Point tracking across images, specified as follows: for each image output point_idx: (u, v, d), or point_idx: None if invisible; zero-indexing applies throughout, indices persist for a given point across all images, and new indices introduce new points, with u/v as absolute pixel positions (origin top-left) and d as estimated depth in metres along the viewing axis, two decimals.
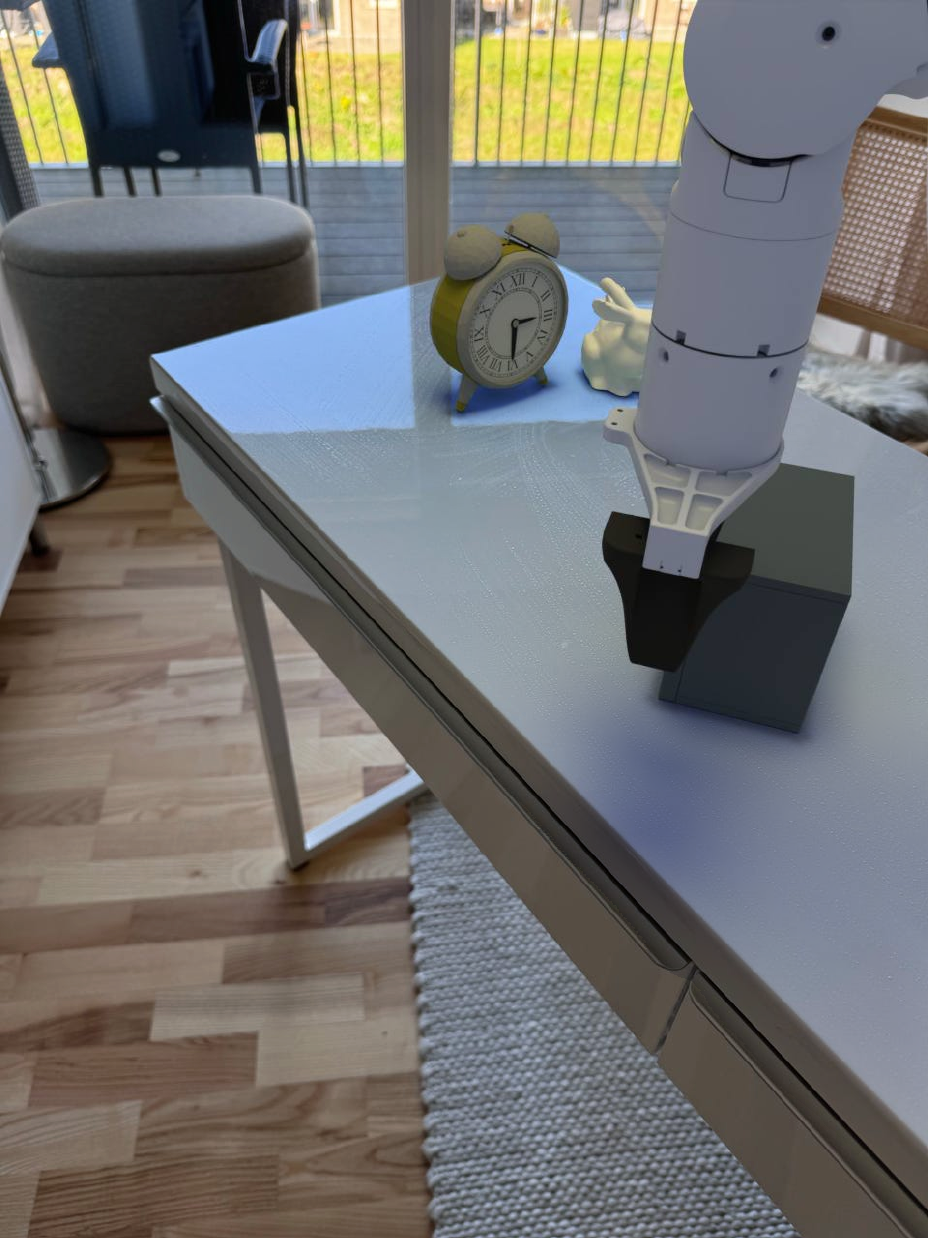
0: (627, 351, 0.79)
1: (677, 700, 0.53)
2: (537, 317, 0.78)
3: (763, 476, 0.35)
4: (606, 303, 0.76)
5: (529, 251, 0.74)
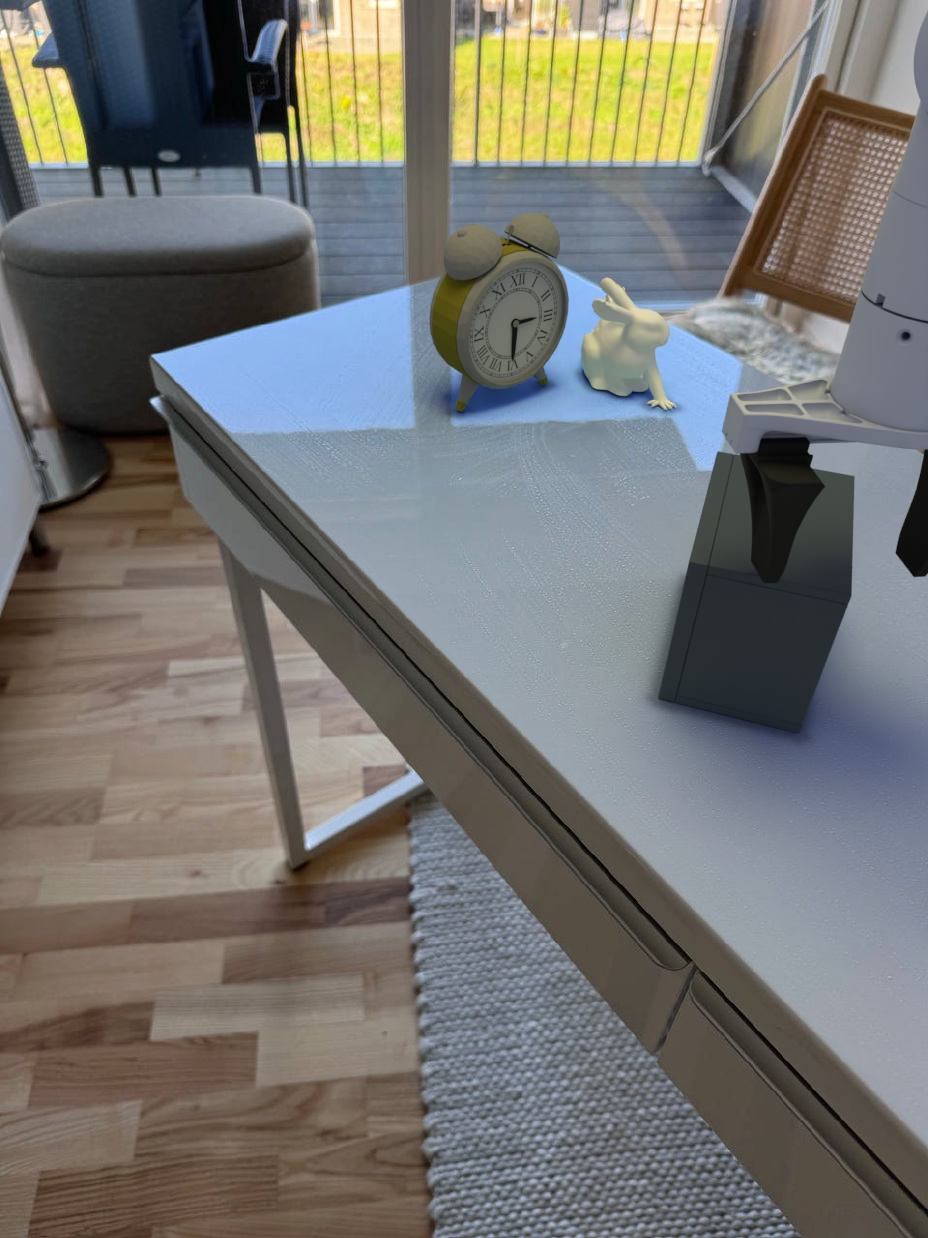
0: (627, 351, 0.79)
1: (677, 700, 0.53)
2: (537, 317, 0.78)
3: (874, 434, 0.38)
4: (606, 303, 0.76)
5: (529, 251, 0.74)
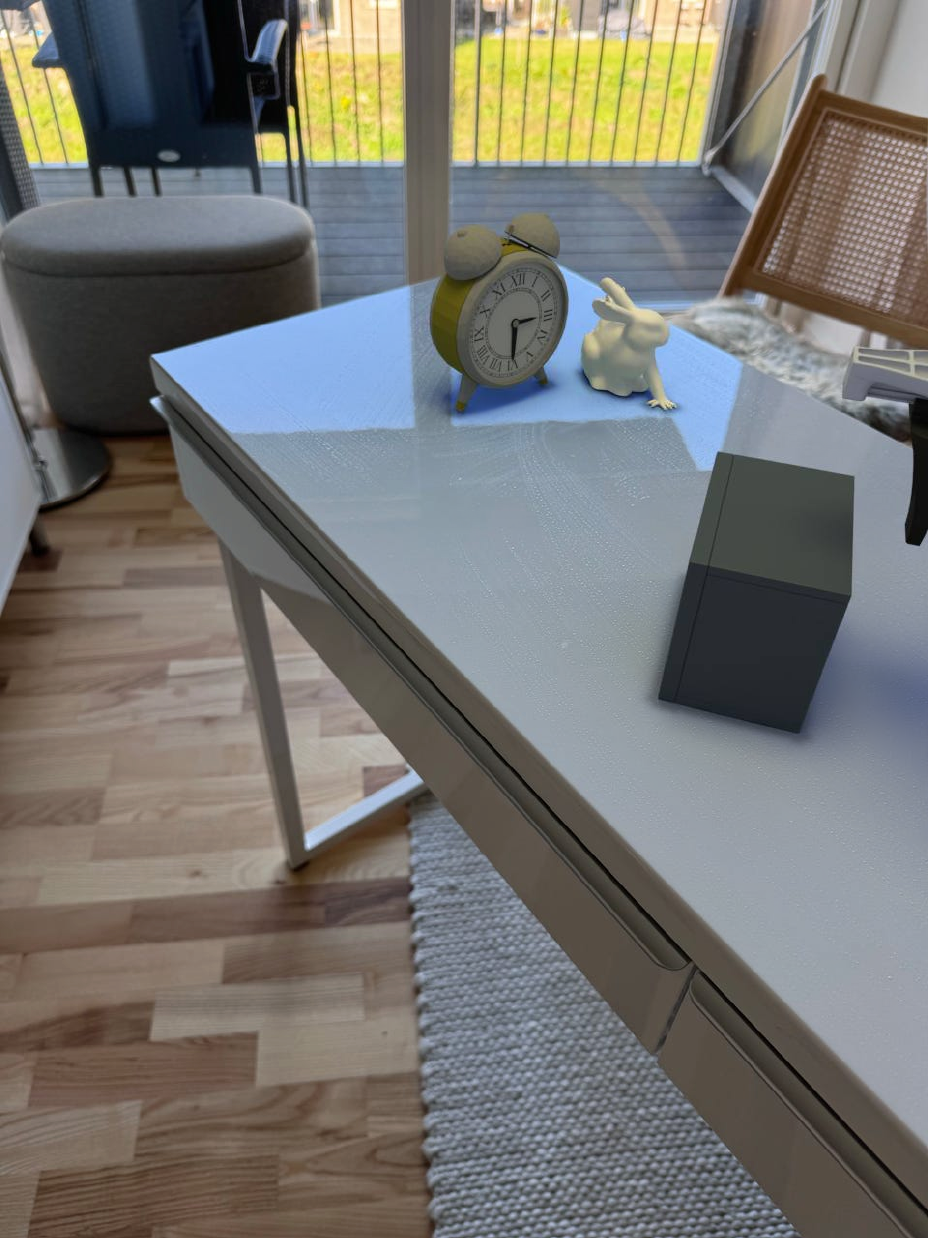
0: (627, 351, 0.79)
1: (677, 700, 0.53)
2: (537, 317, 0.78)
3: None
4: (606, 303, 0.76)
5: (529, 251, 0.74)
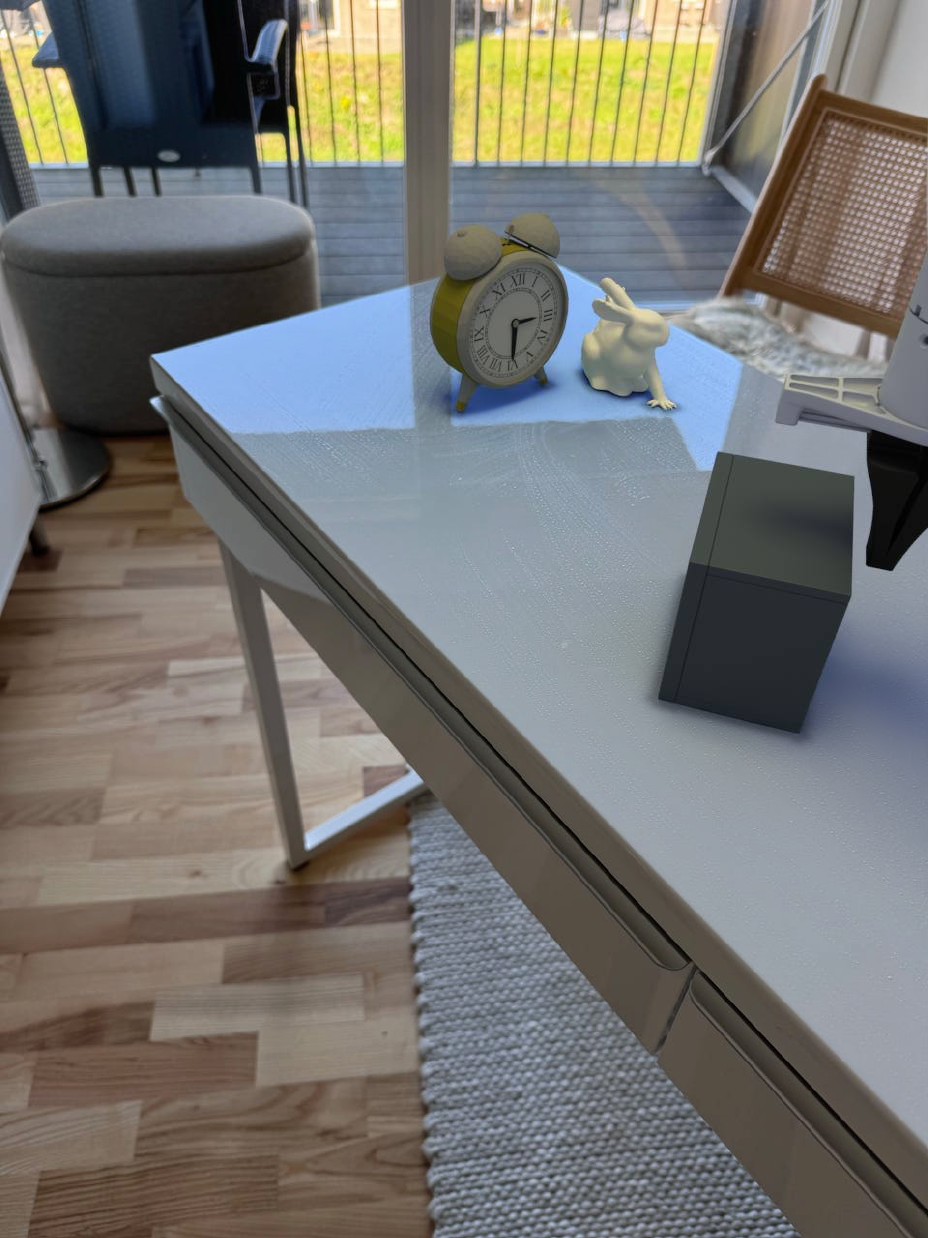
0: (627, 351, 0.79)
1: (677, 700, 0.53)
2: (537, 317, 0.78)
3: (892, 425, 0.43)
4: (606, 303, 0.76)
5: (529, 251, 0.74)
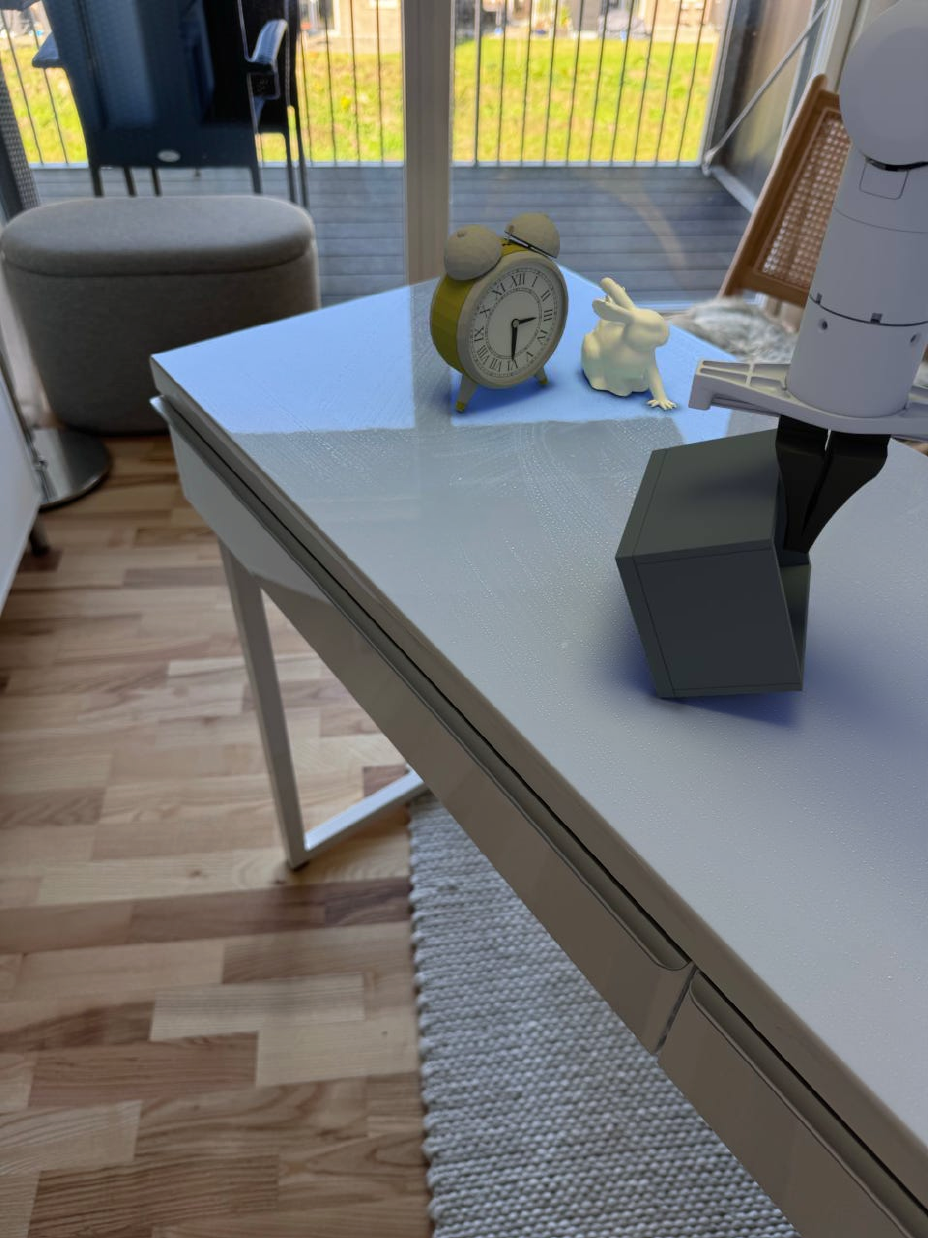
0: (627, 351, 0.79)
1: (676, 694, 0.53)
2: (537, 317, 0.78)
3: (796, 409, 0.44)
4: (606, 303, 0.76)
5: (529, 251, 0.74)
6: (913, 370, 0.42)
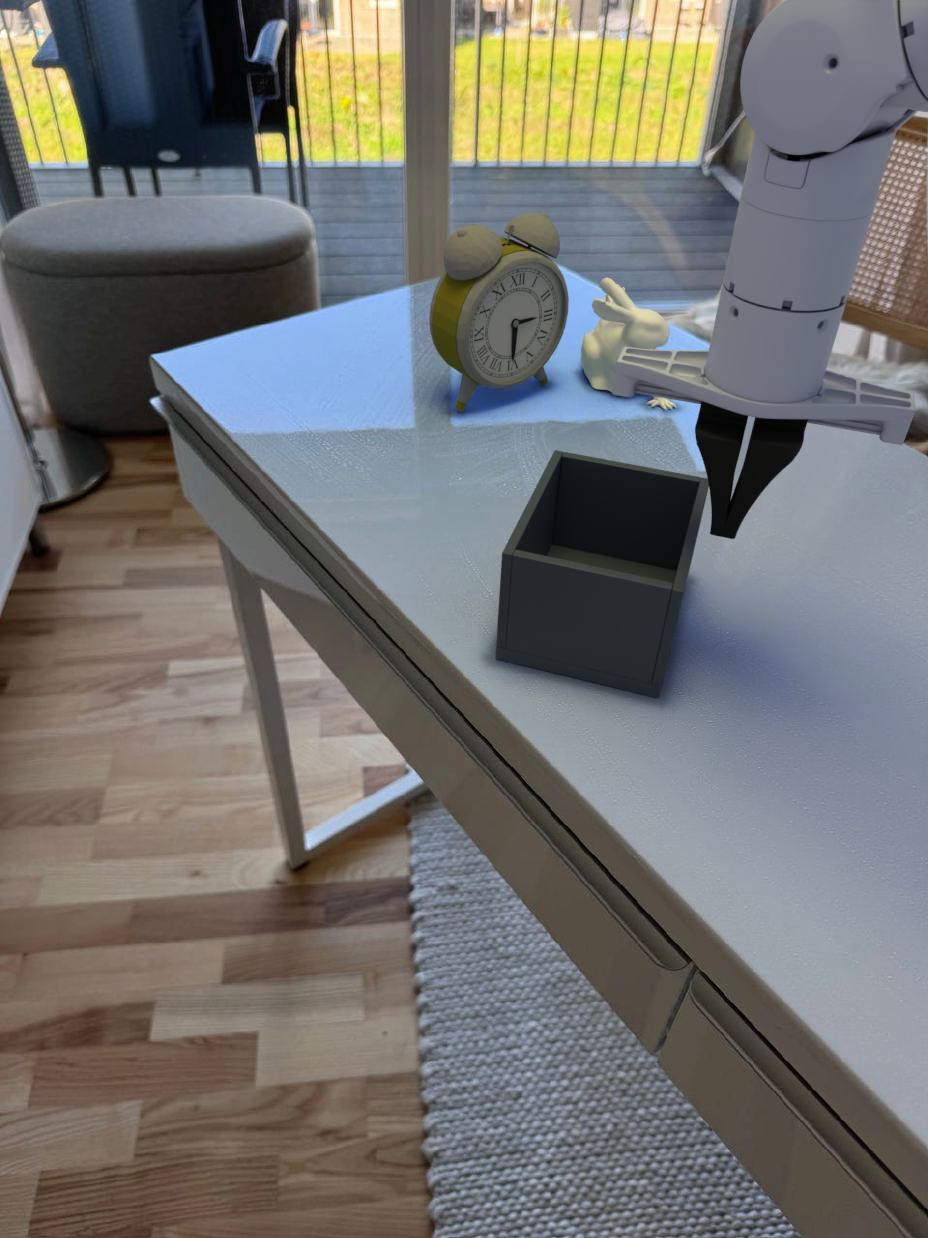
0: None
1: (657, 684, 0.53)
2: (537, 317, 0.78)
3: (712, 395, 0.45)
4: (606, 303, 0.76)
5: (529, 251, 0.74)
6: (823, 356, 0.43)
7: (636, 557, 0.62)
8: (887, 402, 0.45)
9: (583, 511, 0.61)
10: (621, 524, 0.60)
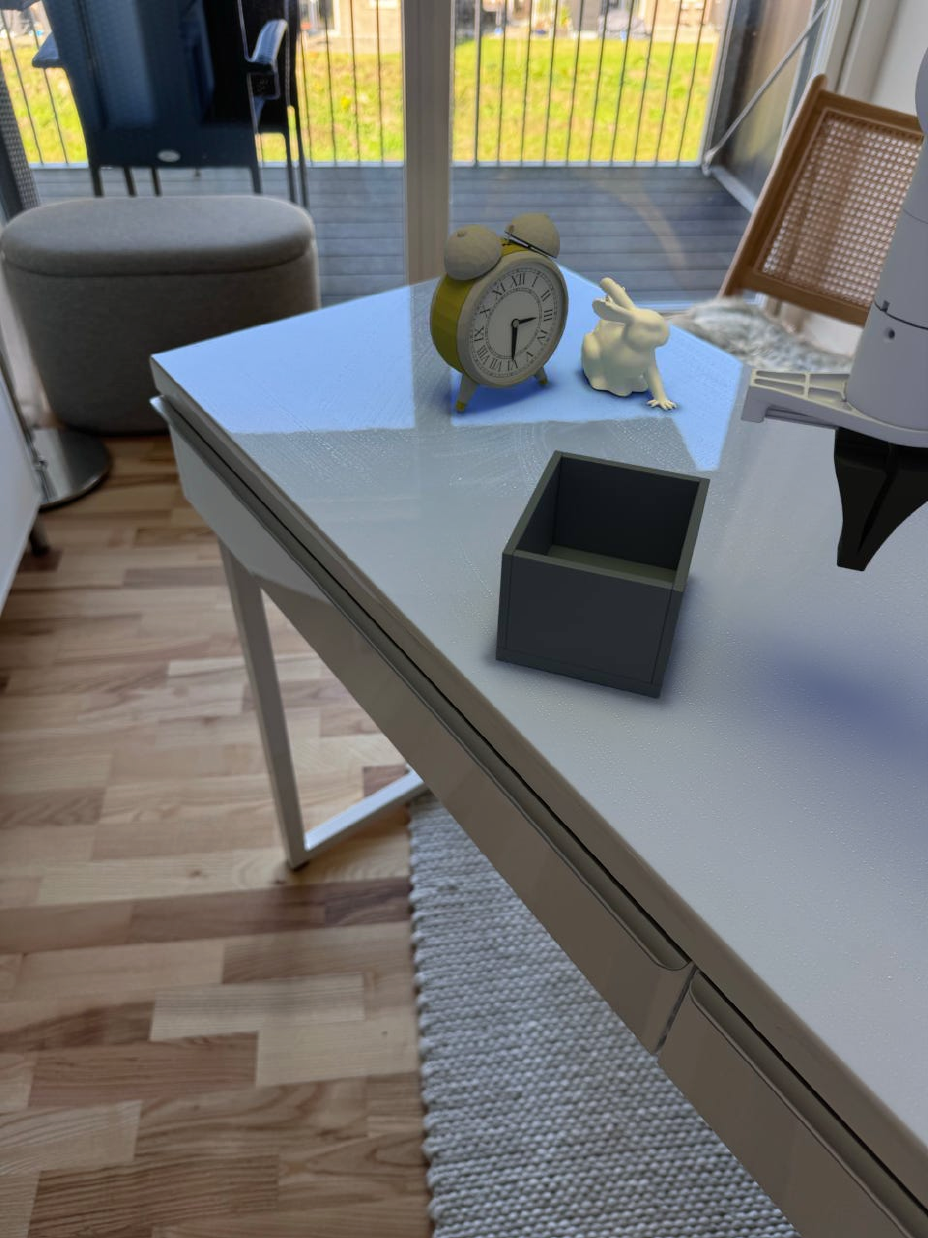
0: (627, 351, 0.79)
1: (657, 684, 0.53)
2: (537, 317, 0.78)
3: (858, 422, 0.42)
4: (606, 303, 0.76)
5: (529, 251, 0.74)
6: None
7: (636, 557, 0.62)
8: None
9: (583, 511, 0.61)
10: (621, 524, 0.60)
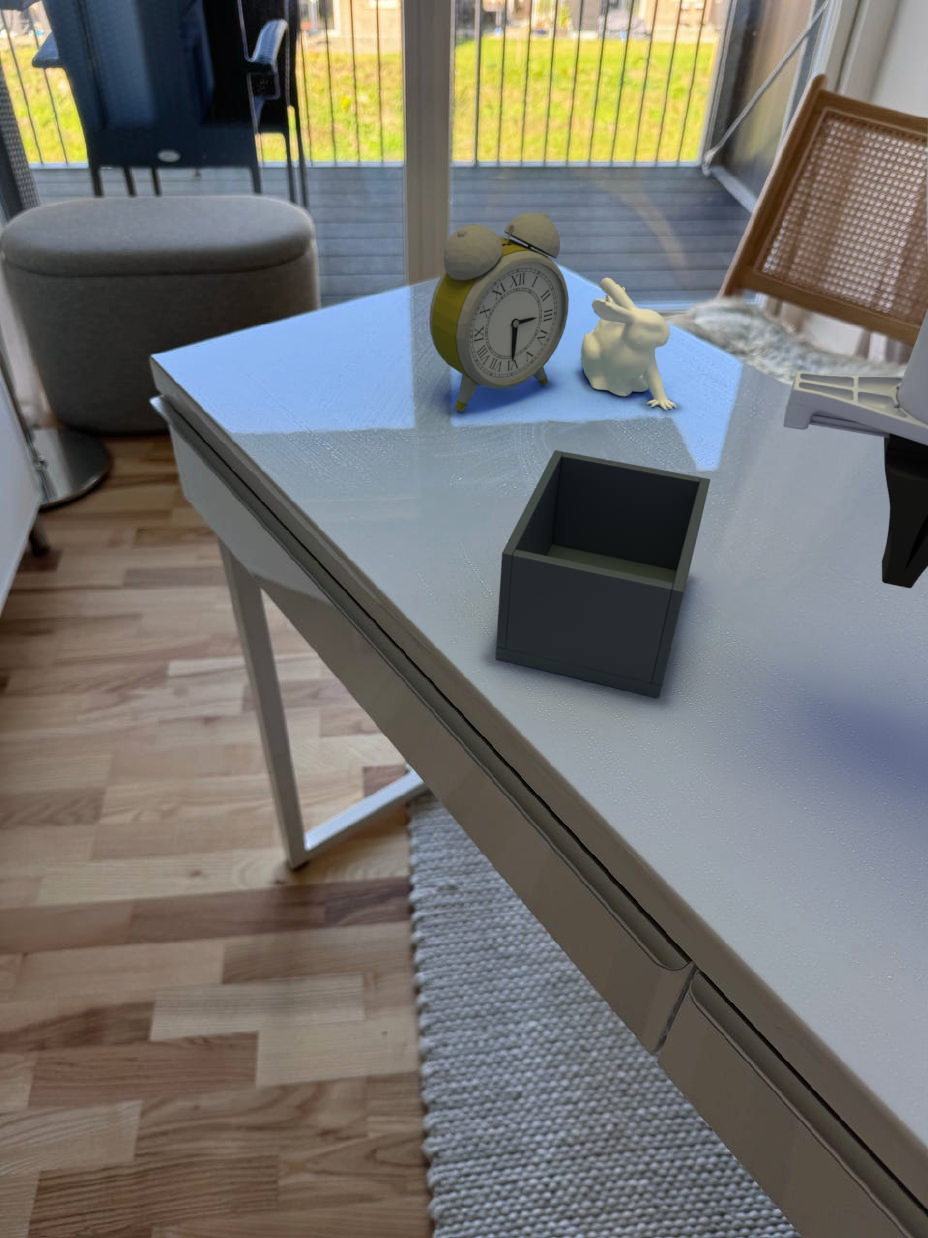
0: (627, 351, 0.79)
1: (657, 684, 0.53)
2: (537, 317, 0.78)
3: (914, 429, 0.39)
4: (606, 303, 0.76)
5: (529, 251, 0.74)
6: None
7: (636, 557, 0.62)
8: None
9: (583, 511, 0.61)
10: (621, 524, 0.60)
